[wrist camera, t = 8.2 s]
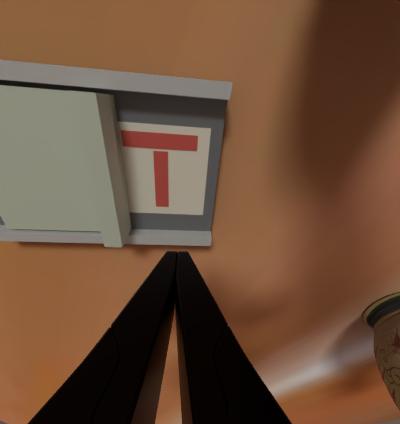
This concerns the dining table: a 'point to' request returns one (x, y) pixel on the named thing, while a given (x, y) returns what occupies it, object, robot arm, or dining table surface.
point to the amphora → (387, 341)
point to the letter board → (147, 149)
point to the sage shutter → (62, 163)
